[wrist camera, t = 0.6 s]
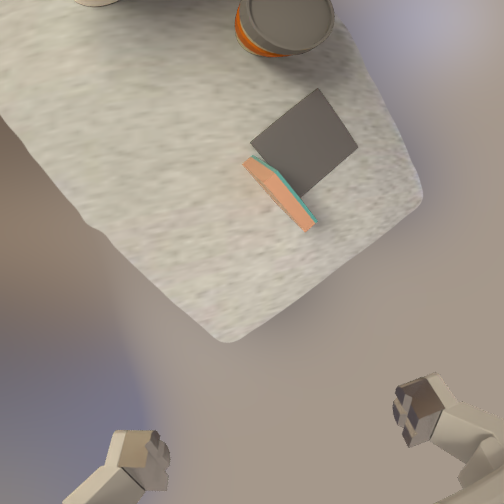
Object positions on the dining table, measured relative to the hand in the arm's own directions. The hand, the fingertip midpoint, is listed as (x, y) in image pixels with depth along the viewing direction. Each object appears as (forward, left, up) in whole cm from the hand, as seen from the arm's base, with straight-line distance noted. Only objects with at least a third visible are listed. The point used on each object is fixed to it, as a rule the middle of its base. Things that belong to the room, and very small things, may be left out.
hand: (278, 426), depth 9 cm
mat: (-10, +19, -48) cm, 53 cm away
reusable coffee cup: (-26, +4, -49) cm, 55 cm away
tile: (-1, +14, -48) cm, 50 cm away
